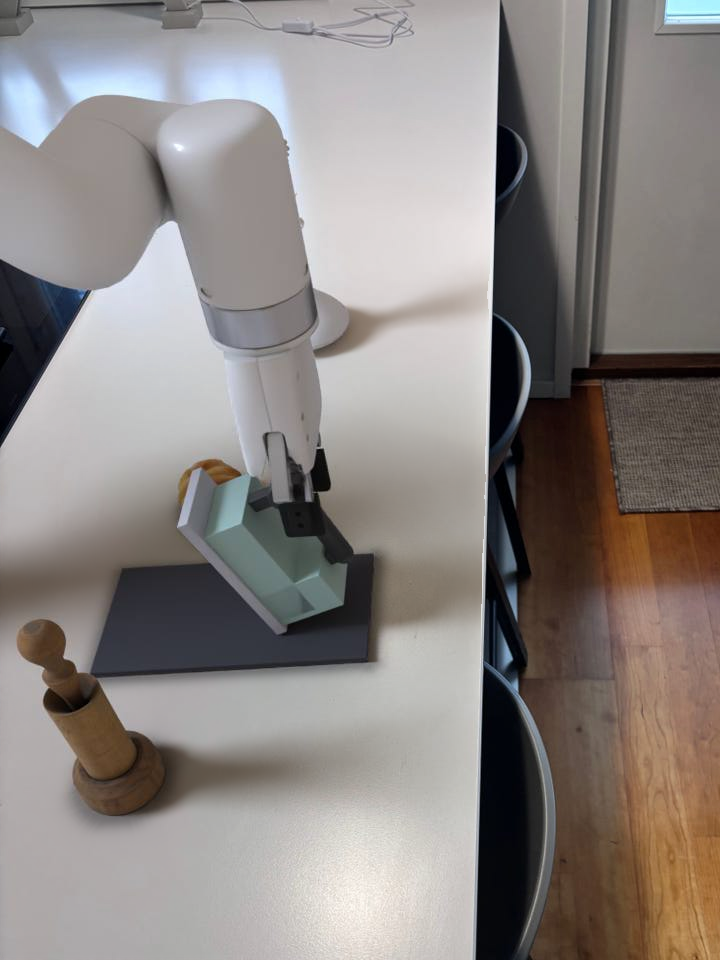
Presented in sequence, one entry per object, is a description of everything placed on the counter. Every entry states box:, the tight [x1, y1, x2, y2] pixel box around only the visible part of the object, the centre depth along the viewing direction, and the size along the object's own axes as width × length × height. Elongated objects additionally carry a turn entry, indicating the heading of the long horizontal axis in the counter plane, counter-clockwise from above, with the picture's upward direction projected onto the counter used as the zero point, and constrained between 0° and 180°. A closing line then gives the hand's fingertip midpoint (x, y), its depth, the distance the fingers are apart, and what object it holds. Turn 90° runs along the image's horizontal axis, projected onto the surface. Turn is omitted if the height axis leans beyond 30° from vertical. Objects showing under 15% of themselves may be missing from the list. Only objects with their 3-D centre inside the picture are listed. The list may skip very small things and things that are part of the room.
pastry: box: [177, 458, 242, 508], centre depth 97 cm, size 9×7×4 cm
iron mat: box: [89, 552, 375, 678], centre depth 89 cm, size 24×13×1 cm, turn 92°
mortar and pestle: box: [15, 618, 165, 816], centre depth 71 cm, size 7×6×18 cm
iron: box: [176, 457, 355, 635], centre depth 82 cm, size 14×7×10 cm
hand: (309, 509), depth 80 cm, fingers closed on iron, 4 cm apart
